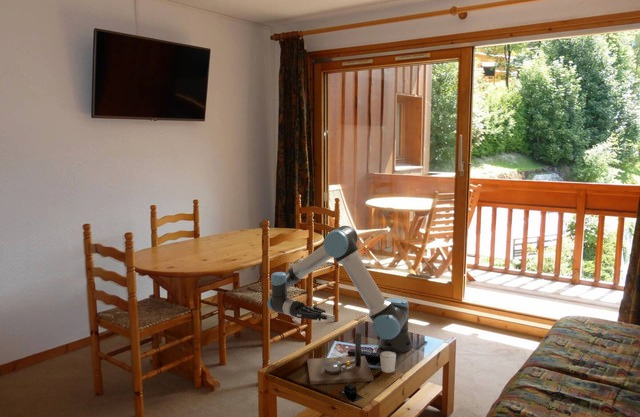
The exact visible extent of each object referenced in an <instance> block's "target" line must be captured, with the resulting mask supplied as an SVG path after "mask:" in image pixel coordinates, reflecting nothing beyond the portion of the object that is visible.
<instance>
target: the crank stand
mask: <svg viewBox="0 0 640 417" xmlns="http://www.w3.org/2000/svg"><path fill="white" fill-rule="evenodd" d="M353 359H355V356H341V357H340V356H338V357H337V356H335V357H322V358H321V357H319V358H318V357H317V358H306V363H307V364H306V365H307V370H308V372H307V373H308V376H309V377H308V378H309V383H310V384H309V385H322V384H323V385H325V384H340V383H342V384H343V383H344V384H345V383H346V384H347V383H361V382H374V380H375V379H374V378H375V376H374V375H373V372H372V370H371V367H370V365H369V363H368V362H369V361H367V358H366V356H365V355H361V366H356V365H355V363H353V364H351V365H350V366H349V367H346V366H345V365H344V366H341V372H340V373H338V374H328V373H326V372H325V371H324V365H325V363H327V362H330V361H336V362H339V363H340V362H344V361H349V360H353Z"/></svg>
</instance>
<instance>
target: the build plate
mask: <svg viewBox="0 0 640 417" xmlns="http://www.w3.org/2000/svg"><path fill="white" fill-rule="evenodd" d="M337 393H338V394H339V395H340V396H342V397H344V398H345V399H347V400H348V401H349V402H351V403H355V402H357V401H359V400H362V399H364V397H363V396H362V395H361V394H359V393H358V392H357V386H356V385H355V384H354V383H353V382H347V383H346V384H345V383H344V386H343V389H342V390H339V391H338V392H337Z"/></svg>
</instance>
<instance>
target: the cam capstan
mask: <svg viewBox="0 0 640 417" xmlns="http://www.w3.org/2000/svg"><path fill="white" fill-rule="evenodd" d="M354 334H355V335H354V337H355V338H354V339H355V340H354V341H355V342H354V345H355V348H354V350H355V351H354V355H355V356H354V357H355V359H353V360H349V361H344V362H340V363H339V362H336V361H330V362H327V363H325V365H324V371H325V372H326V373H328V374H338V373H340V372H341V366H344V365H345V366H346V367H349V366H350V365H351V364H353V363H355V365H356V366H361V356H362V333H360V332H355V333H354Z"/></svg>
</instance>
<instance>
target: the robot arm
mask: <svg viewBox="0 0 640 417" xmlns="http://www.w3.org/2000/svg"><path fill="white" fill-rule="evenodd" d="M323 239H324V240H323V244H322V245H321V246H319V247H318V248H317V249H315V250H314V251H313V252H311V253H310V254H309V255H307V256H306V257H304V258H303V259H302V260H300V261H299V262H297V263H296V264H295V265H293V266H292V267H290V268H288V270H286V271H285V272H284V271H276V272H273V273H272V274H271V275H270V284H271V285H270V287H271V295H270V296H269V298H268V299H267V300H268V301H267V302H266V304H267V307H268V309H269V310H271V311H273V312H275V313H280V314H284V315H287V316H289V317H294V318H297V319H305V320H313V321H318V322H320V321H321V320H324V321H328V322H331V323H333V322H335V320H336V318H335V316H336V315H334V314H332V313H328V312H326V310H325V309H324V308H321V307H318V306H316V305H315V304H314V305H313V306H308V305H306V304H305V303H304V302H303V301H300V300H295V299H293V298H292V299H291V298H288V289H289V288H291V287H292V286H293V285H296V284H297V283H298V282H299V281H301V280H302V279H304V278H305V277H306V276H307V275H309V274H311V273H312V272H313V271H315V270H317V269H318V268H319V267H321V266H322V265H323V264H325V263H326V262H328V261H329V260H330V259H332V258H333V259H334V260H335V262H336V263H337V264H339V265H342V267H343V269H344V270H345V272H346V274H347V275H348V277H349V279H350V280H351V282H352V283H353V285H354V287H355V289H356V290H357V292H358V293H359V295H360V297H361V298H362V300H363V302H364V303H365V305H366V307H367V308H368V310H369V312H368V317H369V318H370V320H371V322H372V330H373V332H374V334H375V335H376V336H377V337H378V338H380V339H379V348H381V349H382V350H384V351H391V352H394V353H395V354H396V353H398V354H399V353H405V352H408V351H410V350H411V349H412V347H413V346H412V345H413V343H412V340H411V336H410V333H409V308H410V307H409V301H408V300H407V299H403V298H399V297H397V298H396V297H389V298H385V297H384V295H383V293H382V292H381V289H380V288H379V287H378V285H377V283H376V282H375V279H374V278H373V277H372V275H371V273H370V271H369V270H368V268H367V266H365V263H364V262H363V260H362V258H361V257H360V256H359V252H360V249H359V247H358V246H357V243H358V241H359V240H358V239H359V236H358V232H357V231H356V229H354V227H351V226H349V225H341V226H339V227H337V228H335V229H333V230H331V231H330V232H329V233H327V234H326V235H325V238H323Z"/></svg>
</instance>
